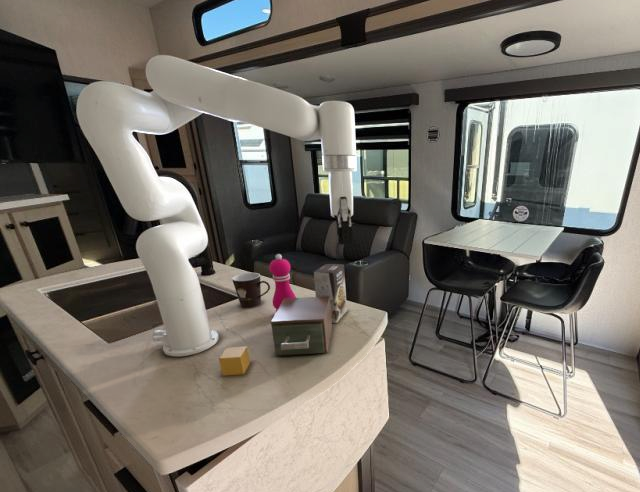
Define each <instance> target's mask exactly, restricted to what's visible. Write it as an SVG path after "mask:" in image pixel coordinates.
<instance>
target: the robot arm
mask: <svg viewBox="0 0 640 492" xmlns="http://www.w3.org/2000/svg"><path fill="white" fill-rule="evenodd" d="M145 66H146V67H145V77H146V80H147V82H148V85H149V86H150V88H151V89H152V91H145V90H143V89H139V88H136V87H134V86H130V85H127V84H124V83H119V82H117V81H116V82H115V81H109V80H108V81H107V80H101V81H100V80H99V81H94V82H91V83H89V84H88V85H86V86H85V87H84V88H83V89H82V90H81V91H80V93H79V95H78V97H77V101H76V111H75V112H76V118H77V121H78V125H79V126H80V129H81V131H82V133H83V135H84V137H85V139H86V140H87V141H88V144H89V146H91V149H93V151H94V152H95V155H96V156H97V158H98V160H99V162H100V164H101V166H102V168H103V170H104V172H105V174H106V176H107V178H108V180H109V182H110V184H111V186H112V188H113V190H114V192H115V194H116V196H117V198H118V200H119V202H120V204H121V206H122V208H123V209H124V211H125V213H127V215H128V216H130V217H131V218H132V219H134V220H137V221H139V222H140V221H141V222H151V221H157V220H161V222H162V224H160V225H157V226H153V227H150V228H148V229H145V230H144V231H143V232H141V234H140V235H139V236H138V238H137V240H136V243H135V250H136V253H137V256H138V259H139V260H140V262H141V263H142V265H143V267H144V269H145V271H146V273H147V276H148V278H149V280H150V283H151V286H152V290H153V293H154V295H155V299H156V303H157V307H158V311H159V314H160V317H161V321H162V324H163V327H164V329H162V330H161V329H160V330H154V331H153V332H152V341H153V342H163V344H162V345H163V346H162V351H163V353H164V354H165V355H166V356H168V357H175V358H176V357H187V356H192V355H196V354H199V353H201V352H204V351H207V350H209V349H210V348H212V347H213V346H214V345H215V344H216V343H218V341H219V339H220V336H219V332H217V331H216V330H215V329H214V330H213V329H211V327H210V322H209V317H208V314H207V309H206V305H205V300H204V296H203V292H202V288H201V284H200V279H199V276H198V275H197V272H196V270H195V269H194V267H193V266H192V264H191V263H190V261H189V259H191V258H193V257H196V256H197V255H200V254H201V253H203V252H204V251H205V250H206V248H207V246H208V244H209V238H208V232H207V230H206V226H205V224H204V222H203V220H202V217H201V215H200V213H199V210H198V208H197V205H196V203H195V201H194V198H193V197H192V194H191V193H190V191H189V190H188V188H187V187H186V186H185V185H184V184H182V183H181V182H180V181H178V180H177V179H174V178H172V177H168V176H159V175H158V173H157V171H156V170H155V168H154V165H153V163H152V160H151V158H150V155H148V153H147V151H146V150H145V148H144V147H143V146H142V145H141V144H140V143H139V141H138V140H137V139H136V138H135V136H134V135H133V132H136V133H143V134H149V135H157V136H158V135H159V136H160V135H167V134H169V133H173V132H174V131H175V130H177V129H179V128H181V127H182V126H184V125H186V124H188V123H189V122H191V121H192V120H194V119H196V118H197V117H200V115H202V114H203V113H204V114H207V115H209V116H210V115H211V116H213V117H217V118H221V119H223V120H226V121H229V122H234V123H245V124H248V125H253V126H255V127H258V128H262V129H266V130H268V131H271V132H275V133H277V134H280V135H281V134H282V135H284V136H287V137H290V138H293V139H296V140H299V141H303V142H311V141H317V140H320V142H321V158H322V169H323V172H328V173H327V175H328V193H329V206H330V207H329V208H330V216H331V217H332V218H335V216H336V220H335V221H336V235H337V236H338V244H339V245H352V244H354V235H353V226H352V218H351V217H352V216H354V187H353V185H354V183H353V172H358V163H357V144H356V143H357V141H356V140H357V139H356V122H355V121H356V120H355V119H356V118H355V117H356V116H355V109H354V107H353V105H352V104H351V103H349V102H347V101H342V100H325V101H323V102H321V103H320V104H319V105H314V104H311V103H309V102H308V101H307V100H305V99H304V98H303V97H301V96H298V95H296V94H295V93H291V92H288V91H285V90H282V89H279V88H276V87H273V86H270V85H268V84H267V85H266V84H263V83H260V82H256V81H254V80H249V79H246V78H243V77H240V76H236V75H232V74H230V73H226V72H223V71H220V70H217V69H213V68H211V67H208V66H204V65H201V64H199V63H195V62H192V61H190V60H186V59H183V58H180V57H176V56H173V55H167V54H158V55H155V56H153V57H151V58H150V59H149V60H148V61H147V63H146V65H145Z"/></svg>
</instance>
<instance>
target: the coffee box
mask: <svg viewBox="0 0 640 492" xmlns="http://www.w3.org/2000/svg"><path fill="white" fill-rule="evenodd" d="M345 276H346V275H345V264H341V263H340V264H338V263H332V264H331V263H325V264H324V265H322V266H320V267H319V268H318V269H316V270H314V271H313V280H314V281H313V282H314V292H315V297H328V296H330V306H331V318H332V324H337V323H338V322H339V321H340V319H342V317H343V316H344V315H345V314H346V313H347V311H348V306H347V291H346V290H347V289H346V277H345Z"/></svg>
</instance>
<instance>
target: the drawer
mask: <svg viewBox="0 0 640 492" xmlns="http://www.w3.org/2000/svg"><path fill="white" fill-rule="evenodd" d="M273 334H274V339H273V341H274V340H275V345H274V347H275V346H276V352H275V354H276V353H277V355H281V356H290V355H289V354H298V355H307V354H306V353H315V354H324V353H323V352H324V340H323V330H322V323H321V322H311V323H291V324H278V325H273V333H272V335H273Z"/></svg>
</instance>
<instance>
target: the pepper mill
mask: <svg viewBox="0 0 640 492" xmlns="http://www.w3.org/2000/svg"><path fill="white" fill-rule="evenodd" d="M290 271H291V264H290V262H289V260H287V259H285V258H283V256H282V254H280V253H276V255H275V259H272V261H271V262H270V263H269V272H270V273H271V274H272V280H273V282H274V284H275V285H274V286H275V287H274V292H273V293H274V294H273V297H272V306H273V308H274V309H275V313H276V312H277V310H278V309H279V307H280V305H281V304H282V302H283V300H284V299H285V298H297V296H296V294H295V293H294V291H293V290H292V287H291V284H290V279H291V274H290Z"/></svg>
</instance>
